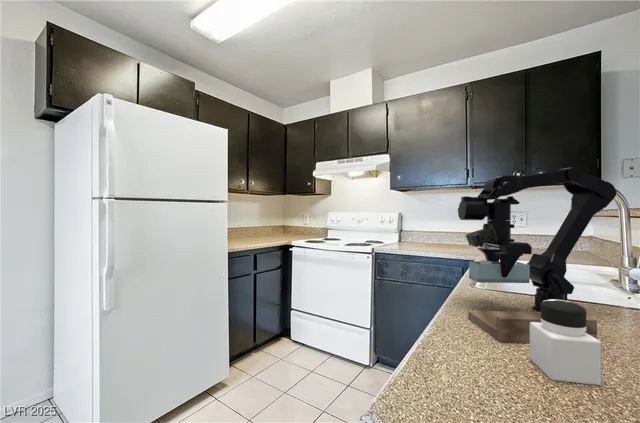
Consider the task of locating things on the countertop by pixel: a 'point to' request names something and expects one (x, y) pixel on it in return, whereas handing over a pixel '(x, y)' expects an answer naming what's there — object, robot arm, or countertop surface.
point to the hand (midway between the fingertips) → (498, 275)
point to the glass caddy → (498, 272)
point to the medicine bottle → (565, 344)
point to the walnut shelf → (514, 324)
